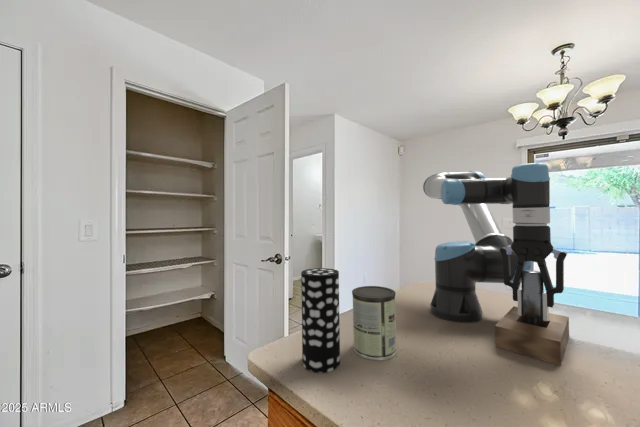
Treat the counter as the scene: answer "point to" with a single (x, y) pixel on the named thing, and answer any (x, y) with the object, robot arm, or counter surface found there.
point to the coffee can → (374, 322)
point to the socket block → (533, 336)
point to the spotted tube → (320, 319)
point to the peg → (532, 297)
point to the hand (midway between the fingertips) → (533, 316)
